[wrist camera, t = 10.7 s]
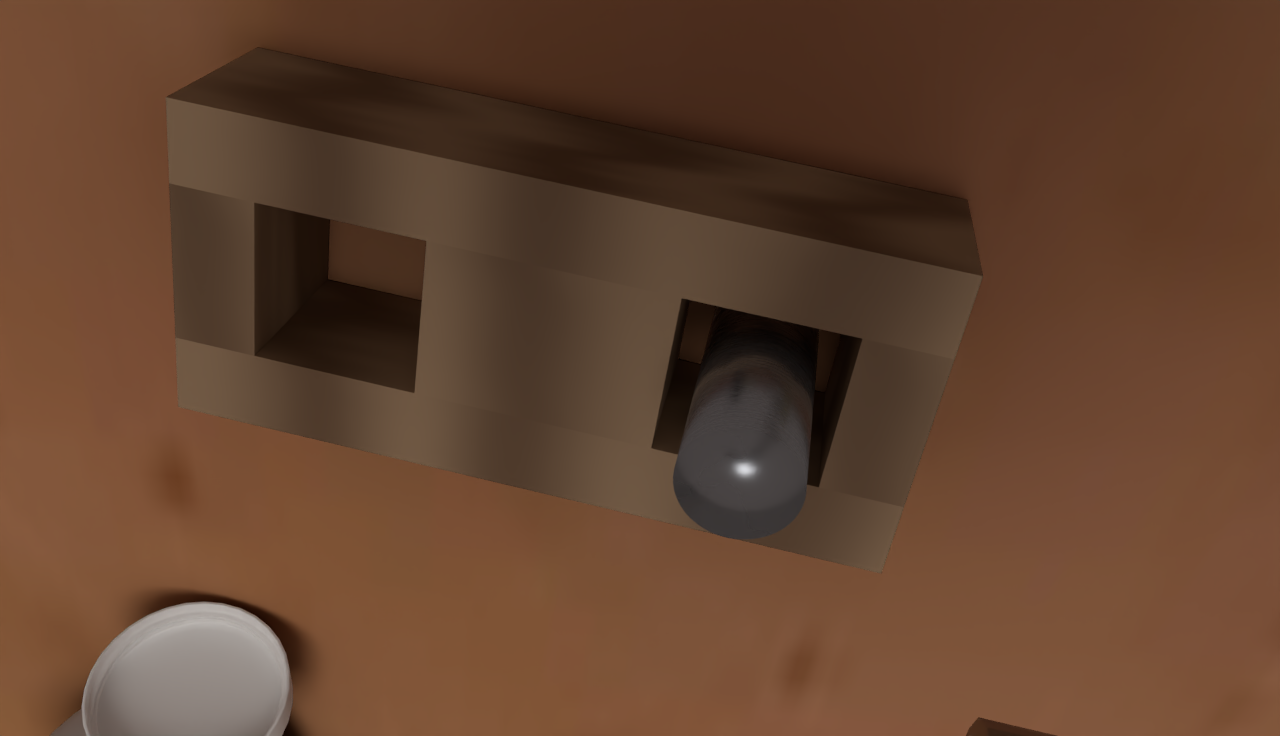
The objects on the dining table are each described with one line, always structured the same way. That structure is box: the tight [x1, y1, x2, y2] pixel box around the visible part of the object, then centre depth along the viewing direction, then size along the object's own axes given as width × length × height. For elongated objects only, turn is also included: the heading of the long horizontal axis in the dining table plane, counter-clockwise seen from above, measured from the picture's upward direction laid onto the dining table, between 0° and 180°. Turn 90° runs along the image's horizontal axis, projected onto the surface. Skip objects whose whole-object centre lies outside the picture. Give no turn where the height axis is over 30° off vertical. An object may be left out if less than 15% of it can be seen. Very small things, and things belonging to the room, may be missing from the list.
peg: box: [673, 306, 820, 539], centre depth 30 cm, size 3×3×9 cm
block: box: [166, 47, 983, 573], centre depth 33 cm, size 20×9×5 cm, turn 80°
